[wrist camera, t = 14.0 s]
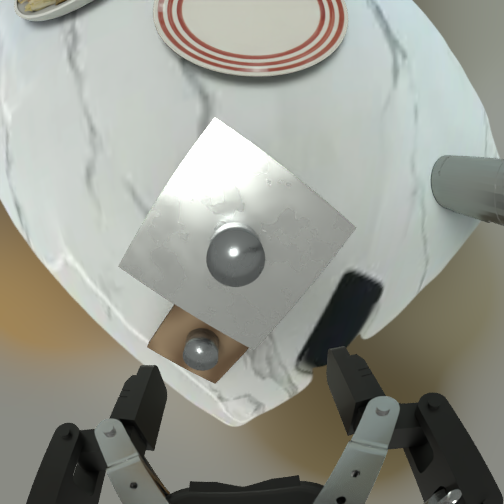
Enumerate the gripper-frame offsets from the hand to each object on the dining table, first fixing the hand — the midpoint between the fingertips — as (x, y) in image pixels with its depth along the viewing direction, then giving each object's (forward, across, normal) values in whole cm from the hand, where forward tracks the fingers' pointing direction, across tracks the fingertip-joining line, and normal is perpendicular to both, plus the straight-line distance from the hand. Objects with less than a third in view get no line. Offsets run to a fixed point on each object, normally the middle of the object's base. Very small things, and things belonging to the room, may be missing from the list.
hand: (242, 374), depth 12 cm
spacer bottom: (+17, 0, -1) cm, 17 cm away
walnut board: (+27, +8, +15) cm, 32 cm away
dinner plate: (+27, -5, -34) cm, 44 cm away
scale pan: (+20, 0, -1) cm, 20 cm away
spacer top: (+25, +8, +15) cm, 30 cm away
